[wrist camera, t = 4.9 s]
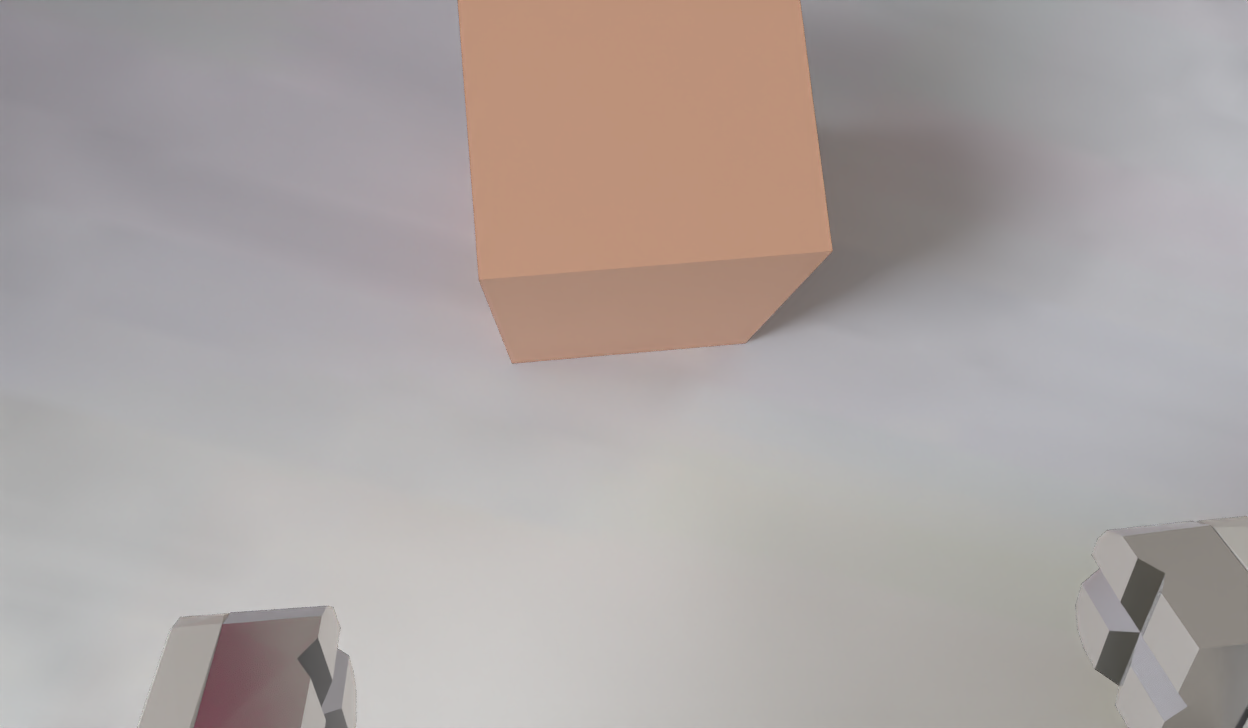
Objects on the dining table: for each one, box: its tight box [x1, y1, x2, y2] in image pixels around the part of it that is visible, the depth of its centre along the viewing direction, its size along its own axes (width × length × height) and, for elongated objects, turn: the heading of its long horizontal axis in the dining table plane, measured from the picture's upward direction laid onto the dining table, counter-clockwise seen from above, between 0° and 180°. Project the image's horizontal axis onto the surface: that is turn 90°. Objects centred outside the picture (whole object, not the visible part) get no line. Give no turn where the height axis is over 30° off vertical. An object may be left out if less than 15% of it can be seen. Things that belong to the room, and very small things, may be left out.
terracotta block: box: [458, 0, 833, 363], centre depth 18 cm, size 5×5×8 cm
